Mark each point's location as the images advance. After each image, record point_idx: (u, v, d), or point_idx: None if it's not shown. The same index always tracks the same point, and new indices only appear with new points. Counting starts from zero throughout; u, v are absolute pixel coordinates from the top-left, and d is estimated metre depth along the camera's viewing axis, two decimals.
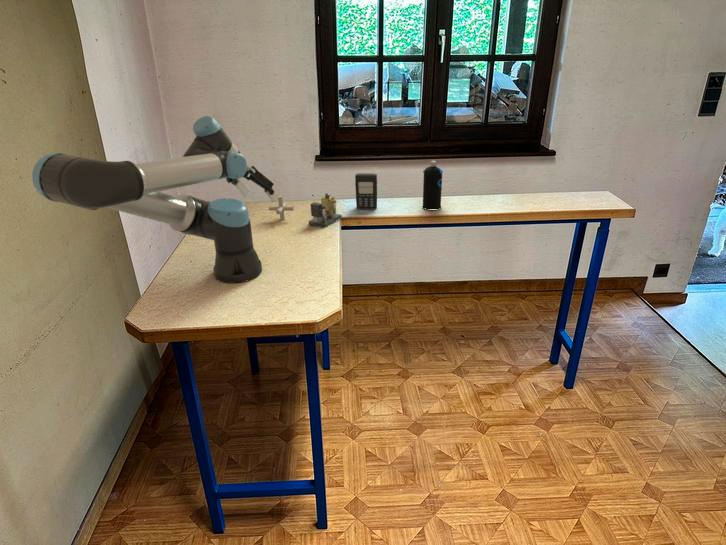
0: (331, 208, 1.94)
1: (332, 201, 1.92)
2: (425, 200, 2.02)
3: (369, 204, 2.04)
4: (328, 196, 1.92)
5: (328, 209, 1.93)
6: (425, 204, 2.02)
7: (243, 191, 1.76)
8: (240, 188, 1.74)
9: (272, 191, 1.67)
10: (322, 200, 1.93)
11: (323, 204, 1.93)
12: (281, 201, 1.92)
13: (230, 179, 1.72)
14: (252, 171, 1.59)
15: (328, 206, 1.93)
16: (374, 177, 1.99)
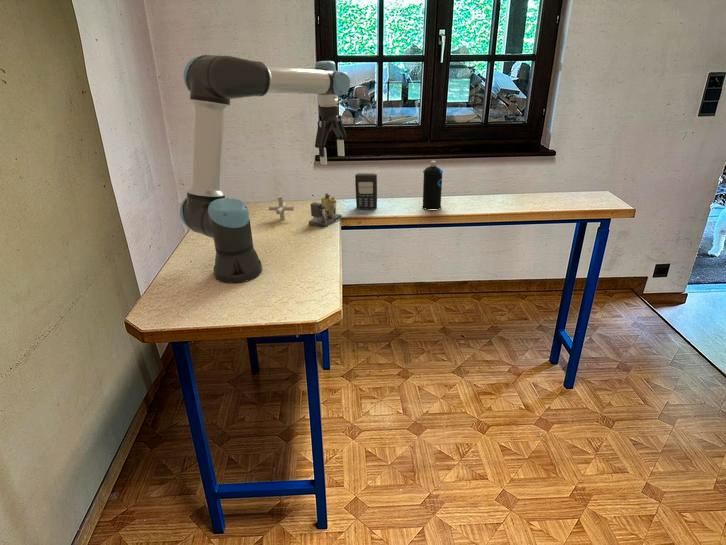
0: (331, 208, 1.94)
1: (332, 201, 1.92)
2: (425, 200, 2.02)
3: (369, 204, 2.04)
4: (328, 196, 1.92)
5: (328, 209, 1.93)
6: (425, 204, 2.02)
7: (339, 150, 1.96)
8: (338, 145, 1.95)
9: (320, 153, 1.83)
10: (322, 200, 1.93)
11: (323, 204, 1.93)
12: (281, 201, 1.92)
13: None
14: (319, 123, 1.80)
15: (328, 206, 1.93)
16: (374, 177, 1.99)
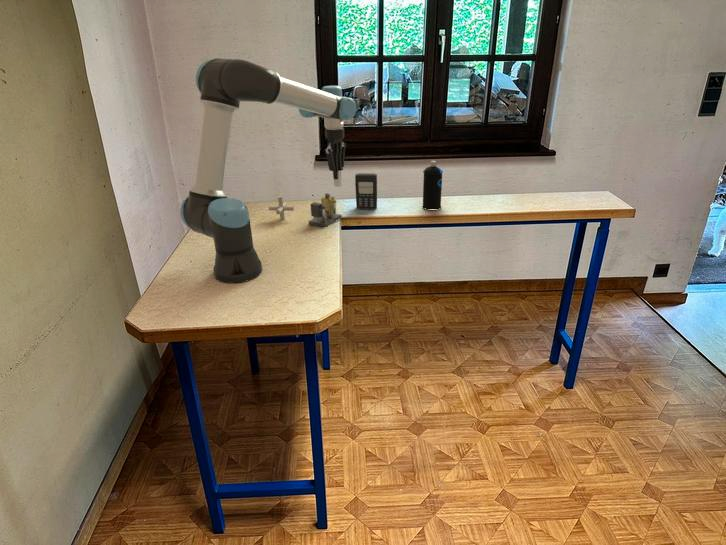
0: (331, 208, 1.94)
1: (332, 201, 1.92)
2: (425, 200, 2.02)
3: (369, 204, 2.04)
4: (328, 196, 1.92)
5: (328, 209, 1.93)
6: (425, 204, 2.02)
7: None
8: None
9: (334, 176, 1.94)
10: (322, 200, 1.93)
11: (323, 204, 1.93)
12: (281, 201, 1.92)
13: None
14: (326, 151, 1.86)
15: (328, 206, 1.93)
16: (374, 177, 1.99)
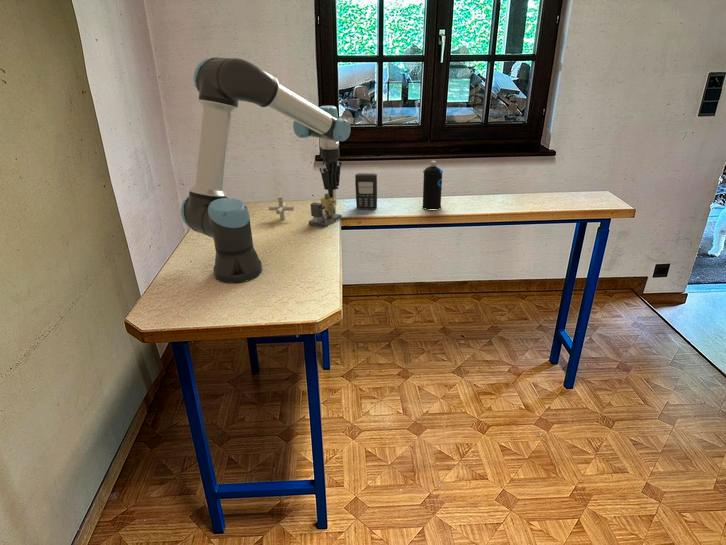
0: (331, 208, 1.93)
1: (332, 201, 1.92)
2: (425, 200, 2.02)
3: (369, 204, 2.04)
4: (328, 196, 1.92)
5: (328, 209, 1.93)
6: (425, 204, 2.02)
7: None
8: None
9: None
10: (322, 200, 1.93)
11: (323, 204, 1.93)
12: (281, 201, 1.92)
13: None
14: (321, 171, 1.86)
15: (328, 206, 1.92)
16: (374, 177, 1.99)
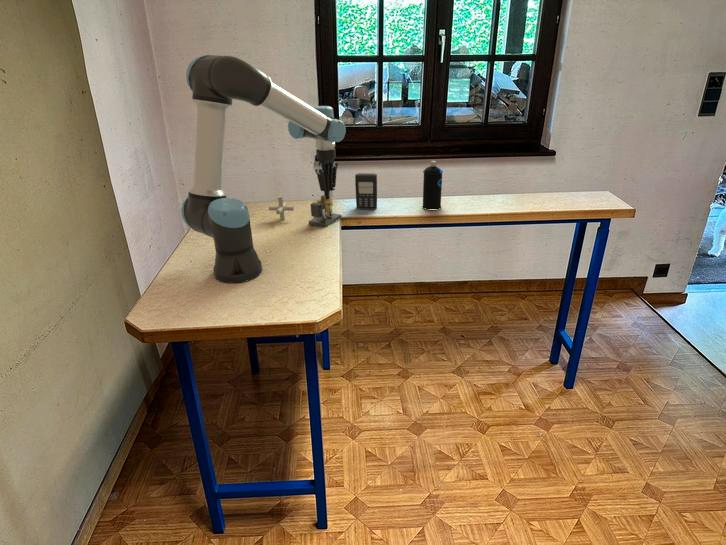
0: (327, 210, 1.91)
1: (328, 203, 1.90)
2: (425, 200, 2.02)
3: (369, 204, 2.04)
4: (324, 198, 1.90)
5: None
6: (425, 204, 2.02)
7: None
8: None
9: (326, 196, 1.92)
10: (318, 202, 1.91)
11: None
12: (281, 201, 1.92)
13: None
14: (316, 172, 1.84)
15: None
16: (374, 177, 1.99)
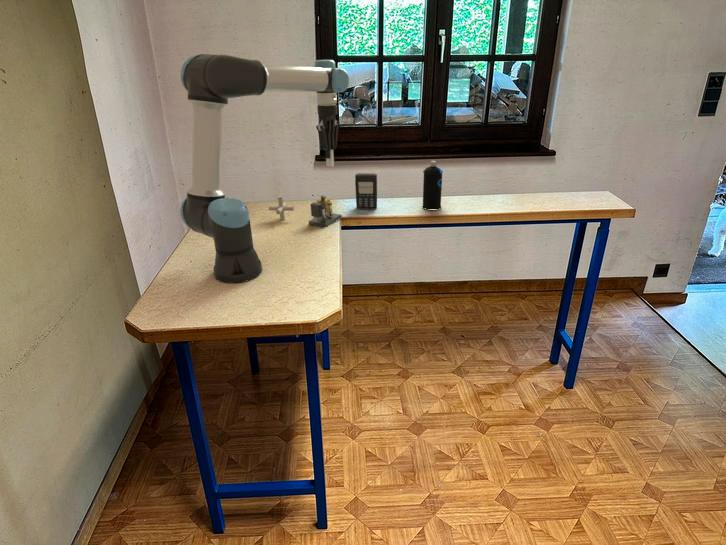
0: (327, 210, 1.91)
1: (328, 203, 1.90)
2: (425, 200, 2.02)
3: (369, 204, 2.04)
4: (324, 198, 1.90)
5: None
6: (425, 204, 2.02)
7: None
8: None
9: (327, 155, 1.87)
10: (318, 202, 1.91)
11: None
12: (281, 201, 1.92)
13: None
14: (318, 128, 1.80)
15: None
16: (374, 177, 1.99)
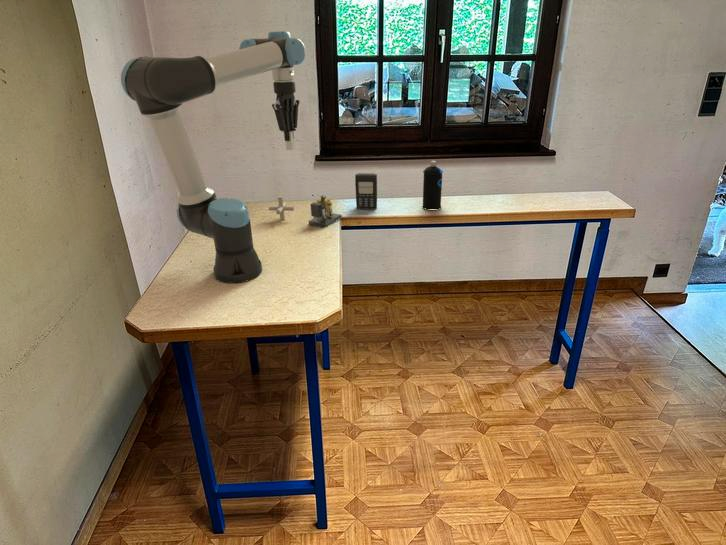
0: (327, 210, 1.91)
1: (328, 203, 1.90)
2: (425, 200, 2.02)
3: (369, 204, 2.04)
4: (324, 198, 1.90)
5: None
6: (425, 204, 2.02)
7: None
8: None
9: (286, 137, 1.72)
10: (318, 202, 1.91)
11: None
12: (281, 201, 1.92)
13: None
14: (274, 107, 1.64)
15: None
16: (374, 177, 1.99)
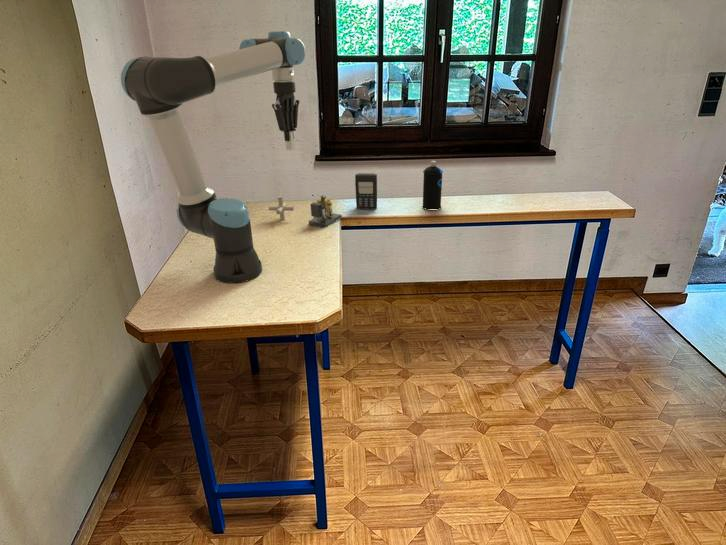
0: (327, 210, 1.91)
1: (328, 203, 1.90)
2: (425, 200, 2.02)
3: (369, 204, 2.04)
4: (324, 198, 1.90)
5: None
6: (425, 204, 2.02)
7: None
8: None
9: (286, 137, 1.72)
10: (318, 202, 1.91)
11: None
12: (281, 201, 1.92)
13: None
14: (273, 107, 1.64)
15: None
16: (374, 177, 1.99)
